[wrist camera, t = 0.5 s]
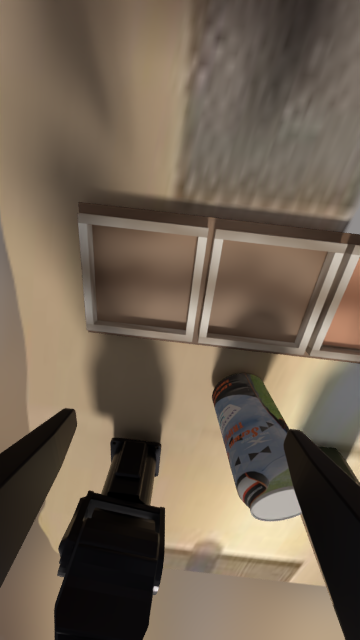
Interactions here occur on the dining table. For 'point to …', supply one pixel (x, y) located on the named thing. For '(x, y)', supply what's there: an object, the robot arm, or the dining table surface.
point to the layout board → (220, 282)
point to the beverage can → (255, 446)
